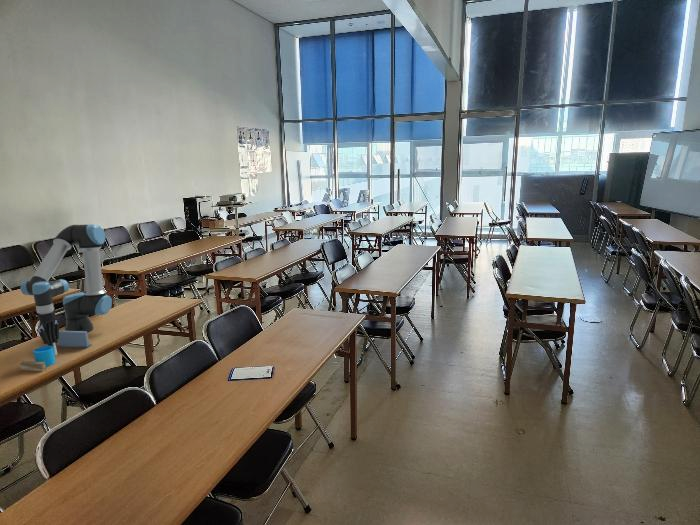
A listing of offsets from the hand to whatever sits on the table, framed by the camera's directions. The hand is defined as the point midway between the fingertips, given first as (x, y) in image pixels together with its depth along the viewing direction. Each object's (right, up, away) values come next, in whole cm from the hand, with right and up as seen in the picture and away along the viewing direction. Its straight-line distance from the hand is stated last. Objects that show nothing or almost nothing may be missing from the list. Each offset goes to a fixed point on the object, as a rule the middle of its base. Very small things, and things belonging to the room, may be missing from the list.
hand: (54, 354), depth 236 cm
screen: (+2, +1, +15) cm, 15 cm away
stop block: (-2, -5, -12) cm, 14 cm away
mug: (-1, -3, -4) cm, 6 cm away
